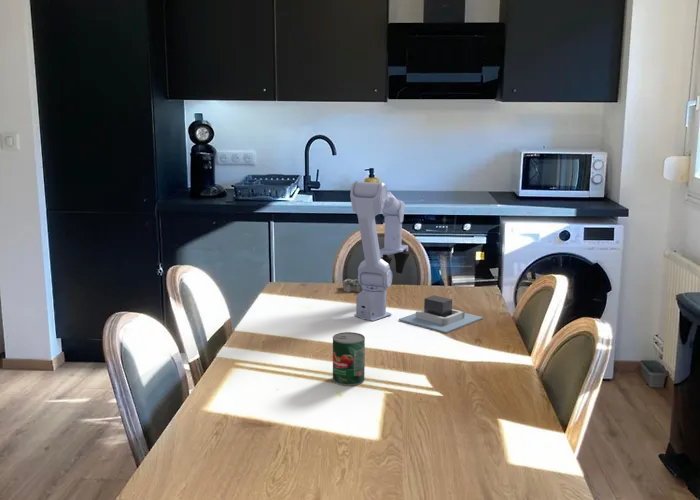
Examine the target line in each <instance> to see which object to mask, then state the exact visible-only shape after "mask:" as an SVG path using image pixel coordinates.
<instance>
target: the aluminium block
mask: <svg viewBox="0 0 700 500" xmlns="http://www.w3.org/2000/svg"><path fill="white" fill-rule="evenodd" d="M423 306H424V309H423V310H424V312H425V313H429V314H433V315H437V316H441V317H447V316H450V315H452V309H453V299H452V298H447V297H442V296H437V295H431V296H430V295H429V296H427V297H425V298H424V304H423Z"/></svg>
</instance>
